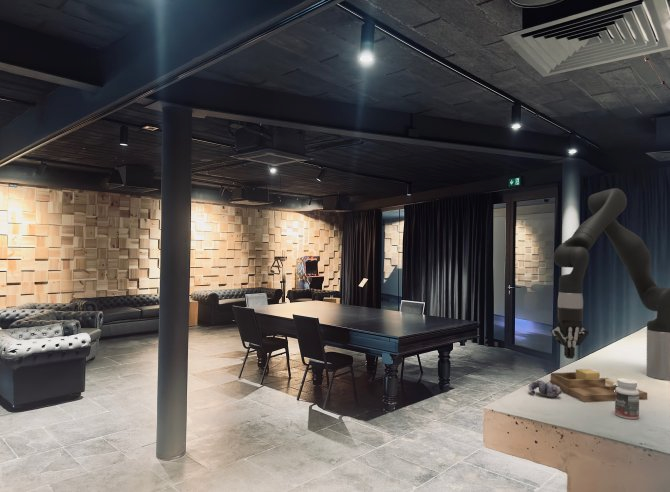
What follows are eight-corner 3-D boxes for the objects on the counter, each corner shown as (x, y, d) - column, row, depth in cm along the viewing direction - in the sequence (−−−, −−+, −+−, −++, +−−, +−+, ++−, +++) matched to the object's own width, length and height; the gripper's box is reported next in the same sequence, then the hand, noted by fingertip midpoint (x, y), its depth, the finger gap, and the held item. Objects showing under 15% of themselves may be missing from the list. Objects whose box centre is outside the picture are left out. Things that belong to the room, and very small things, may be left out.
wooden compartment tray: (606, 383, 160) (606, 377, 160) (647, 399, 143) (647, 392, 143) (549, 385, 156) (549, 379, 156) (584, 402, 140) (584, 395, 140)
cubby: (586, 379, 158) (586, 371, 158) (605, 386, 149) (605, 379, 149) (550, 380, 156) (550, 373, 156) (568, 388, 147) (568, 380, 147)
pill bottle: (610, 412, 131) (610, 377, 131) (628, 412, 131) (629, 377, 132) (624, 419, 125) (624, 383, 125) (644, 419, 126) (644, 383, 126)
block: (588, 380, 156) (588, 369, 156) (599, 385, 151) (599, 372, 151) (575, 381, 155) (575, 369, 155) (585, 385, 150) (586, 373, 150)
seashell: (527, 397, 148) (562, 403, 143) (527, 387, 145) (562, 393, 140) (529, 384, 151) (562, 389, 147) (528, 373, 148) (563, 379, 144)
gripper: (580, 304, 157) (579, 355, 157) (545, 304, 155) (544, 355, 155) (596, 307, 150) (595, 360, 150) (559, 307, 148) (558, 361, 147)
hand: (569, 358), depth 152 cm, fingers closed
